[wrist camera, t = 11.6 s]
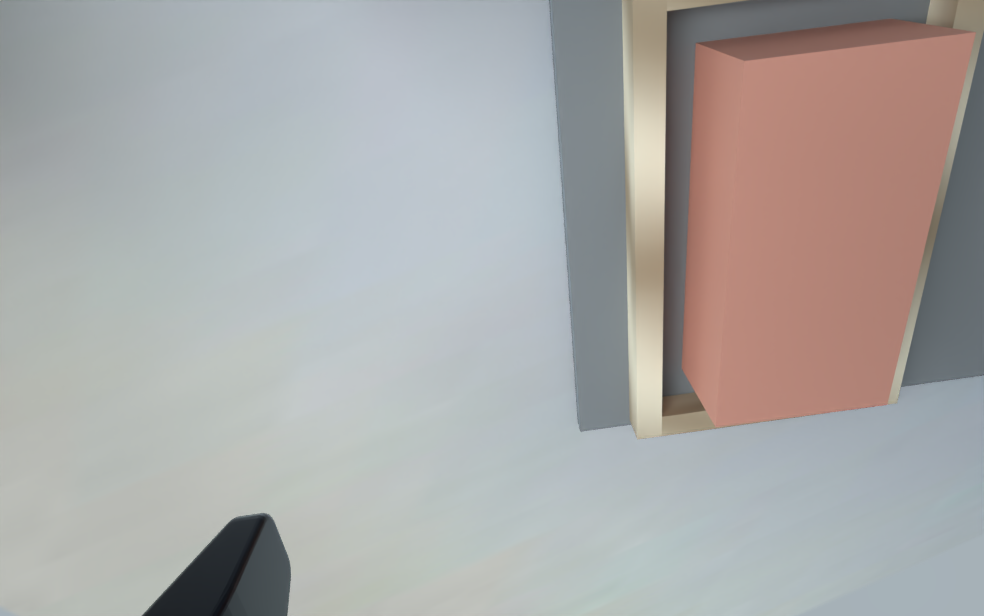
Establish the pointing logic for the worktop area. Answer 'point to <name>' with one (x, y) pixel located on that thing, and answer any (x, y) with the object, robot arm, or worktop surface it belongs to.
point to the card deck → (812, 211)
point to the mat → (602, 198)
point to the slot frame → (953, 4)
